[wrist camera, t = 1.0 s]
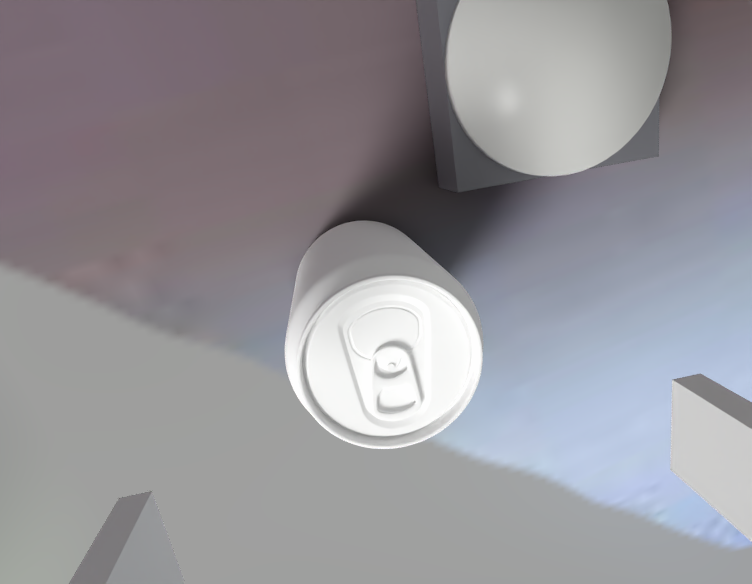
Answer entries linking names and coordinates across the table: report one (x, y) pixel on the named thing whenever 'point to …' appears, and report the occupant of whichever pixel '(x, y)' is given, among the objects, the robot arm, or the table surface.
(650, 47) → the grey hot plate stirrer
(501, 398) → the table surface
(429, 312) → the beverage can
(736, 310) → the table surface
